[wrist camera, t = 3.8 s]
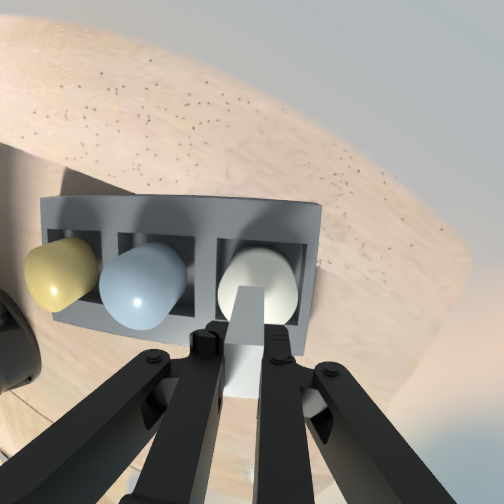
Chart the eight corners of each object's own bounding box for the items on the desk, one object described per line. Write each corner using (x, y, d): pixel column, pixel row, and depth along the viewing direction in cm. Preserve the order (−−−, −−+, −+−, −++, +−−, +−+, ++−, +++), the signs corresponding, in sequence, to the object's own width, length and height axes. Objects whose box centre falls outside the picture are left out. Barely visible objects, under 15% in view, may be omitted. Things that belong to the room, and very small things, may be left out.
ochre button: (58, 289, 23) (30, 306, 19) (52, 234, 22) (21, 245, 18) (101, 297, 23) (74, 317, 19) (96, 237, 22) (65, 249, 17)
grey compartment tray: (69, 308, 27) (53, 320, 24) (59, 195, 24) (40, 197, 21) (300, 338, 26) (303, 356, 23) (315, 202, 23) (322, 205, 20)
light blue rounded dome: (128, 301, 23) (104, 323, 18) (125, 239, 22) (96, 252, 17) (188, 308, 22) (171, 335, 18) (187, 243, 21) (168, 258, 17)
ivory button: (226, 304, 24) (217, 329, 20) (228, 242, 23) (218, 255, 18) (289, 309, 24) (293, 335, 19) (296, 246, 22) (302, 261, 18)
